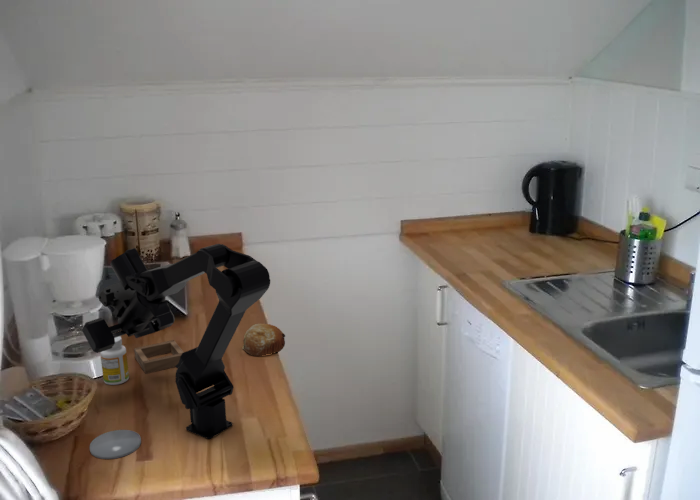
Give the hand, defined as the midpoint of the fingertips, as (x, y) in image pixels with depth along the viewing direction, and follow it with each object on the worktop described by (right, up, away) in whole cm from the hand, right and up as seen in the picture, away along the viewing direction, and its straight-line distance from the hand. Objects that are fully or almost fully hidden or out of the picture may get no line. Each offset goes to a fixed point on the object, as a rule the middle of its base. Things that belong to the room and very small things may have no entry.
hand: (116, 342), depth 155 cm
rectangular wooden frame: (+6, -6, +13) cm, 15 cm away
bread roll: (+29, -4, +20) cm, 35 cm away
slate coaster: (+7, -16, -22) cm, 28 cm away
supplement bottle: (-1, -9, +4) cm, 10 cm away
